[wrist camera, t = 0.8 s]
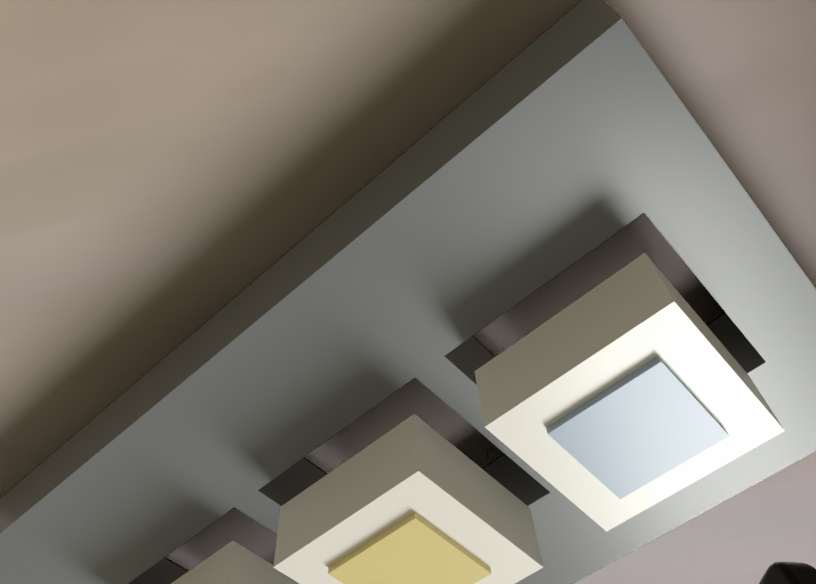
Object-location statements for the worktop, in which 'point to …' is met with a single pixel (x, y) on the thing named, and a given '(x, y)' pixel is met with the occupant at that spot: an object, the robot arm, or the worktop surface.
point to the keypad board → (433, 322)
